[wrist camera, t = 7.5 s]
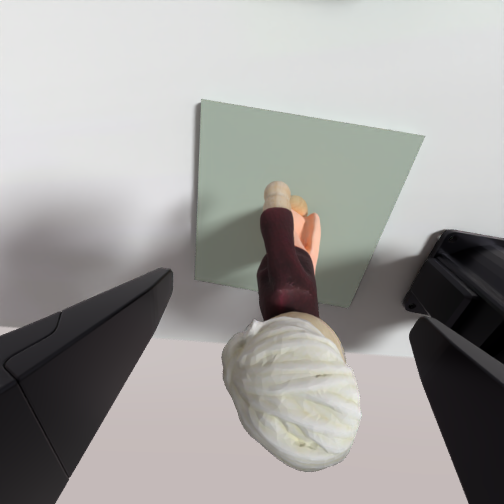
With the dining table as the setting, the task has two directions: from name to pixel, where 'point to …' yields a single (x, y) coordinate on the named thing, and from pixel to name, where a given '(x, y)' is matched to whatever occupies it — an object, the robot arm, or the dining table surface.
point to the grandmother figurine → (292, 349)
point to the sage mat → (295, 191)
